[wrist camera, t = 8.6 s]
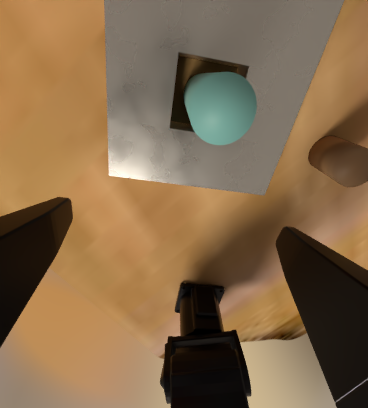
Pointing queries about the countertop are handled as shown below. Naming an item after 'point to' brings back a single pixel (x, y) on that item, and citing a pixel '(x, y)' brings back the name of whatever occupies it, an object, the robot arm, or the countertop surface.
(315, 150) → the short peg
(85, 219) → the countertop surface
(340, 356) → the robot arm
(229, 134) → the long peg
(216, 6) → the socket
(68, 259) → the countertop surface
